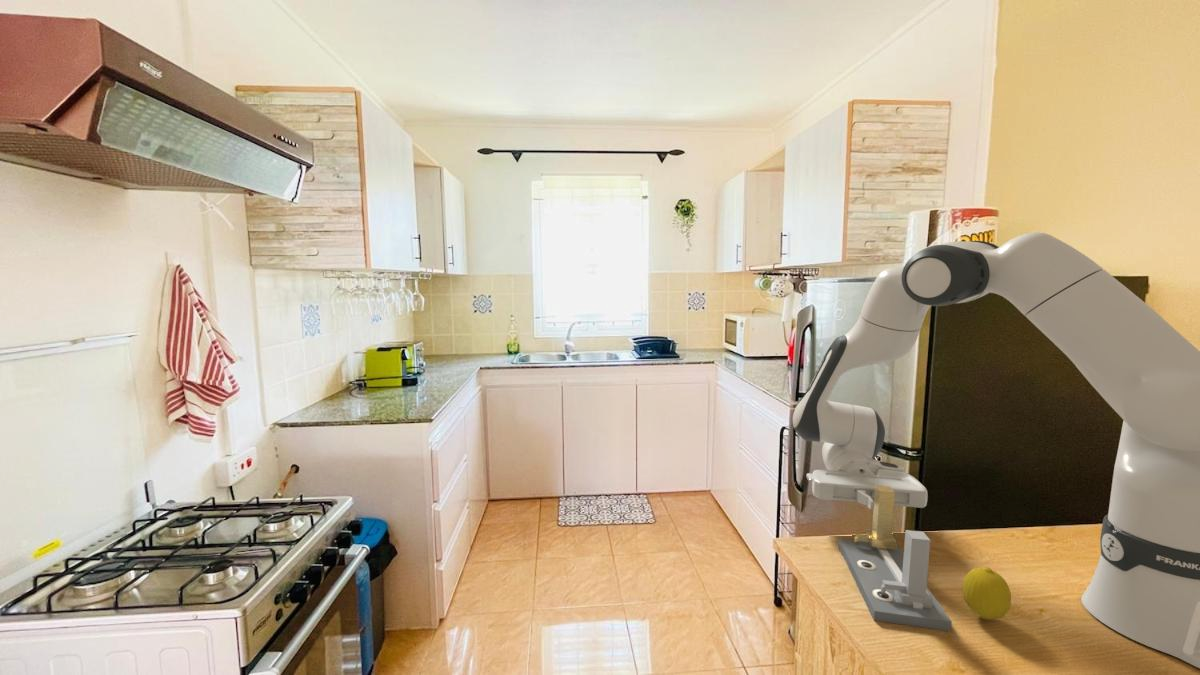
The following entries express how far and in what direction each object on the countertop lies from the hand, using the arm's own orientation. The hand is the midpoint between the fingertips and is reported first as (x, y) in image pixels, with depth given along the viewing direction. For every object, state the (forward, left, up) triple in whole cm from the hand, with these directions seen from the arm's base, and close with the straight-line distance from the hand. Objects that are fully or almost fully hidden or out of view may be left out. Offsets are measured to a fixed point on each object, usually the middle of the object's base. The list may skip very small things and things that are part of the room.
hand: (879, 506), depth 87 cm
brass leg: (+1, +2, -6) cm, 7 cm away
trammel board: (+2, +10, -8) cm, 14 cm away
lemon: (-9, +16, -9) cm, 21 cm away
